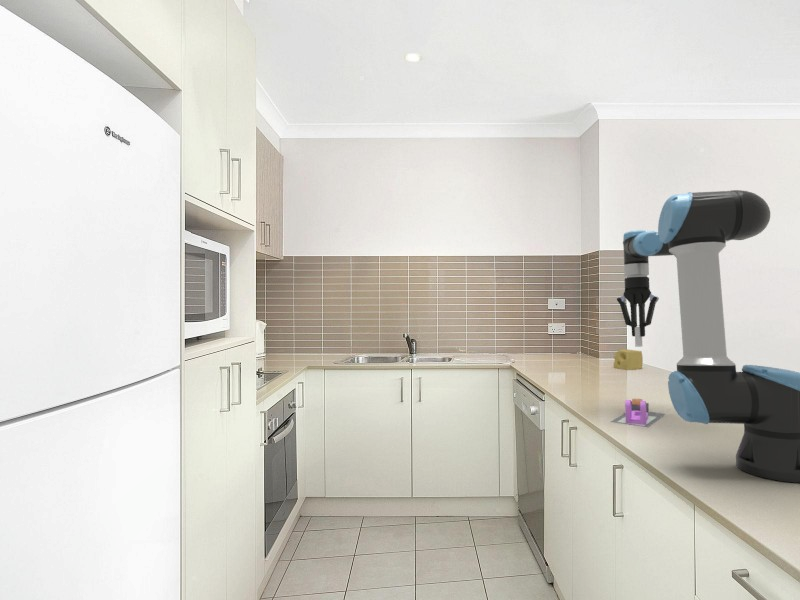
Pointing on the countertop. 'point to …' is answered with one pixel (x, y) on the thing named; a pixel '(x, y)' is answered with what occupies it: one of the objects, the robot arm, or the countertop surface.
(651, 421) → the grey flat plate
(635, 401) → the button
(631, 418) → the bracket
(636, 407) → the button housing
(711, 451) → the countertop surface
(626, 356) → the cheese
